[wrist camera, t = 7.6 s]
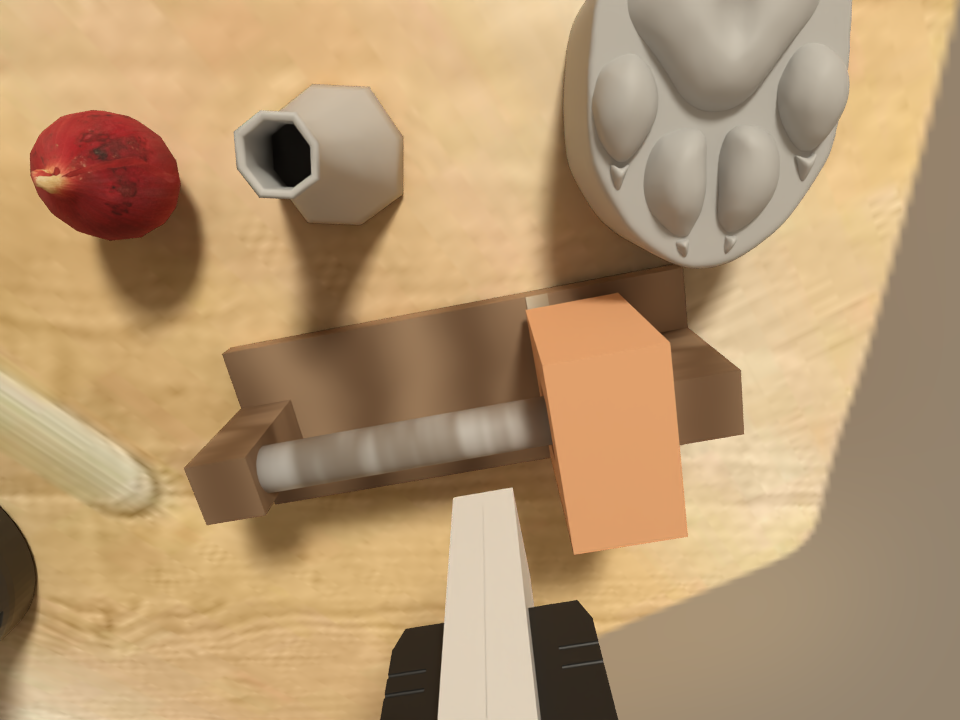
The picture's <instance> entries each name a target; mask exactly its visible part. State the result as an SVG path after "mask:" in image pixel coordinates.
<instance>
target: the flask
mask: <svg viewBox="0 0 960 720" xmlns="http://www.w3.org/2000/svg"><path fill="white" fill-rule="evenodd" d="M234 141H235V153H236V165H237V169H238V171H239V172H240V173H241V174H242V176H243V177H244V178H245V180H246V181H247V182H248V183H249V185H250V186H251V187H252V189H253V190H254V191H255V192H256V194H257V195H258V196H259V198H278V199H290V200H291V201H292V202H293V204H294V205H295V206H296V208H297V209H298V210H299V212H300V213H301V214H302V215H303V217H304V218H305V219H306V221H307V222H308V223H326V224H348V225H362V224H363V223H364V222H366V221H367V220H369V219H370V218H371V217H373V216H374V215H375V214H377V213H378V212H380V211H381V210H382V209H384V208H385V207H386V206H388V205H389V204H390V203H392V202H393V201H395V200H396V199H397V198H399V197H400V196H401V195H403V136H402V134H401V133H400V131H399V130H398V128H397V127H396V126H395V124H394V123H393V121H392V120H391V118H390V117H389V115H388V114H387V112H386V111H385V109H384V108H383V106H382V105H381V103H380V102H379V100H378V99H377V97H376V96H375V94H374V93H373V92H372V90H371V89H370V87H361V86H340V85H320V84H312V85H311V86H310V87H308V88H307V89H306V90H305V91H303V92H302V93H301V94H300V95H298V96H297V97H296V98H295V99H293V100H292V101H291V102H290V103H288V104H287V105H286V106H285V107H283V108H282V109H281V110H280V111H259V112H258V113H256V114H255V115H254V116H253V117H251V118H250V119H249V120H248V121H246V122H245V123H244V124H243V125H242V126H240V127H239V128H238V129H237V130H235V131H234Z"/></svg>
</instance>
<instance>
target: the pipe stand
mask: <svg viewBox="0 0 960 720" xmlns="http://www.w3.org/2000/svg"><path fill="white" fill-rule="evenodd" d="M614 293H619V294H620V295H621V296H622V297H623V298H624V299H625V300H626V301H627V302H628V303H629V304H630V305H631V306H632V307H633V308H635V309H636V310H637V311H638V312H639V313H640V314H641V315H642V316H643V317H644V318H645V319H646V320H647V321H648V322H649V323H650V324H651V325H652V326H653V327H654V328H655V329H656V330H657V331H658V332H660V333H661V334H662V335H663V336H664V337H665V338H666V339H667V340H668V341H669V342H670V346H671V357H672V368H673V379H674V390H675V401H676V412H677V423H678V434H679V445H683V444H689V443H695V442H701V441H707V440H713V439H719V438H725V437H730V436H736V435H742V434H744V423H743V403H742V383H741V370H740V369H739V368H738V367H736V366H735V365H734V364H733V363H731V362H730V361H729V360H728V359H726V358H725V357H724V356H723V355H721V354H720V353H719V352H718V351H716V350H715V349H714V348H713V347H711V346H710V345H709V344H708V343H706V342H705V341H704V340H703V339H702V338H700V337H699V336H698V335H697V334H695V333H694V332H693V331H692V330H690V329H689V328H688V325H687V312H686V300H685V287H684V275H683V267H681V266H679V265H676V264H673V265H668V266H662V267H657V268H652V269H646V270H641V271H636V272H630V273H625V274H620V275H614V276H609V277H604V278H598V279H593V280H588V281H583V282H577V283H572V284H567V285H561V286H556V287H551V288H545V289H540V290H535V291H529V292H524V293H519V294H514V295H508V296H503V297H498V298H492V299H487V300H482V301H476V302H471V303H466V304H460V305H455V306H450V307H444V308H439V309H434V310H429V311H423V312H418V313H413V314H407V315H402V316H397V317H391V318H386V319H381V320H375V321H370V322H365V323H360V324H354V325H349V326H344V327H338V328H333V329H328V330H322V331H317V332H312V333H306V334H301V335H296V336H290V337H285V338H280V339H275V340H269V341H264V342H259V343H253V344H248V345H243V346H237V347H232V348H230V349H228V350H227V351H226V352H224V353H223V354H222V355H223V358H224V361H225V364H226V367H227V369H228V372H229V375H230V378H231V381H232V384H233V386H234V389H235V392H236V395H237V398H238V401H239V403H240V406H241V409H240V410H239V411H238V412H237V413H236V414H235V415H234V417H233V418H232V419H231V420H230V421H229V422H228V423H227V424H226V425H225V426H224V427H223V428H222V429H221V430H220V431H219V432H218V433H217V434H216V435H215V436H214V437H213V438H212V439H211V440H210V442H209V443H208V444H207V445H206V446H205V447H204V448H203V449H202V450H201V451H200V452H199V453H198V454H197V455H196V456H195V457H194V458H193V459H192V460H191V461H190V462H189V463H188V464H187V465H186V467H185V468H184V470H185V472H186V475H187V477H188V480H189V482H190V485H191V487H192V490H193V492H194V495H195V497H196V500H197V502H198V505H199V507H200V510H201V512H202V515H203V517H204V520H205V522H206V524H207V525H211V524H217V523H223V522H229V521H235V520H241V519H246V518H252V517H258V516H264V515H266V514H267V512H268V511H269V509H270V507H271V506H272V504H273V502H275V504H281V503H287V502H293V501H298V500H304V499H310V498H316V497H322V496H328V495H334V494H339V493H345V492H351V491H357V490H363V489H369V488H375V487H381V486H386V485H392V484H398V483H404V482H410V481H416V480H422V479H427V478H433V477H439V476H445V475H451V474H457V473H463V472H469V471H474V470H480V469H486V468H492V467H498V466H504V465H510V464H516V463H521V462H527V461H533V460H539V459H545V458H551V456H550V450H549V445H553V443H552V437H551V431H550V425H549V419H548V413H547V407H546V402H545V399H544V396H541V397H540V392H539V386H538V380H537V374H536V369H535V363H534V357H533V351H532V345H531V339H530V334H529V328H528V322H527V316H526V310H528V309H534V308H539V307H544V306H550V305H555V304H560V303H566V302H571V301H576V300H582V299H587V298H593V297H598V296H603V295H609V294H614Z"/></svg>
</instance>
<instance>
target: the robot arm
mask: <svg viewBox="0 0 960 720" xmlns="http://www.w3.org/2000/svg"><path fill="white" fill-rule="evenodd" d="M34 589H35V571H34V565H33V561H32V557H31V554H30V551H29V549H28V546H27V544H26V542H25V540H24V538H23V537H22V535H21V533H20V531H19V530H18V528H17V527H16V525H15V524H14V523H13V521H12V520H11V519H10V518H9V517H8V515H7V514H6V513H5V512H4V511H3V510H2V509H1V508H0V641H1V640H2V639H3V638H4V637H5V636H6V635H7V634H8V633H9V632H10V631H11V630H12V629H13V628H14V627H15V626H16V625H17V624H18V623H19V622H20V620H21V619H22V618H23V617H24V615H25V614H26V612H27V610H28V609H29V607H30V604H31V602H32V598H33V595H34ZM388 676H389V678H388V679H387V684H386V690H385V699H384V701H383V707H382V713H381V719H380V720H618V717H617V713H616V710H615V705H614V701H613V698H612V694H611V690H610V686H609V682H608V678H607V674H606V670H605V666H604V663H603V658H602V654H601V650H600V646H599V643H598V638H597V634H596V630H595V626H594V622H593V618H592V617H591V616H590V614H589V613H588V612H587V611H586V610H585V609H584V607H583V606H582V605H581V604H580V603H579V602H578V600H575V601H569V602H562V603H556V604H550V605H543V606H537V607H534V601H533V594H532V586H531V578H530V573H529V568H528V563H527V557H526V552H525V547H524V542H523V537H522V532H521V527H520V522H519V517H518V512H517V507H516V502H515V497H514V492H513V487H512V488H506V489H500V490H495V491H489V492H483V493H477V494H471V495H465V496H459V497H453V507H452V522H451V536H450V550H449V564H448V578H447V592H446V607H445V621H444V623H440V624H434V625H428V626H421V627H415V628H409V629H405V631H404V633H403V634H402V636H401V637H400V639H399V641H398V642H397V644H396V646H395V647H394V649H393V650H392V655H391V661H390V667H389V673H388Z"/></svg>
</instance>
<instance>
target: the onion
mask: <svg viewBox="0 0 960 720" xmlns="http://www.w3.org/2000/svg"><path fill="white" fill-rule="evenodd" d="M30 172H31V178H32V181H33V183H34V185H35V188H36V191H37V193H38V195H39V197H40V198H41V199H42V201H43V202H44V203H45V205H46V206H47V207H48V209H49V210H50V211H51V213H53V214H54V215H55V216H56V217H58V218H59V219H60V220H62V221H63V222H65V223H66V224H68V225H69V226H71V227H72V228H74V229H75V230H76V231H79V232H82V233H85V234H88V235H92V236H95V237H99V238H102V239H106V240H109V241H112V240H122V239H130V238H139V237H143V236H144V235H146V234H147V233H149V232H150V231H152V230H153V229H155V228H157V227H159V226H161V225H162V224H164V223H165V222H166V221H167V219H168V218H169V217H170V215H171V214H172V212H173V211H174V210H175V208H176V205H177V200H178V195H179V190H180V179H179V173H178V168H177V162H176V160H175V158H174V157H173V155H172V154H171V152H170V151H169V149H168V147H167V146H166V144H165V143H164V141H163V140H162V138H161V137H160V136H159V135H157V134H156V133H154V132H153V131H152V130H150V129H149V128H147V127H146V126H144V125H143V124H142V123H140V122H139V121H137V120H135V119H133V118H131V117H129V116H125V115H120V114H115V113H111V112H106V111H97V110H90V111H85V112H79V113H74V114H69V115H66V116H63V117H60V118H59V119H58V120H56V121H55V122H54V123H53V124H51V125H50V126H49V127H48V128H46V129H45V130H44V131H43V132H42V133H41V134H40V135H39V137H38V139H37V141H36V143H35V145H34V147H33V149H32V151H31V153H30Z"/></svg>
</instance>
